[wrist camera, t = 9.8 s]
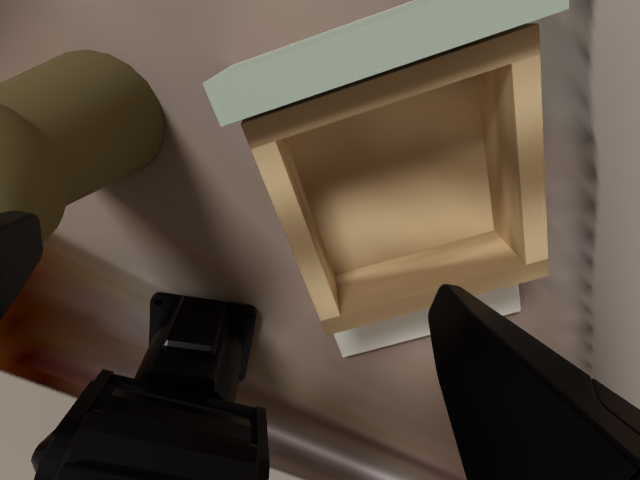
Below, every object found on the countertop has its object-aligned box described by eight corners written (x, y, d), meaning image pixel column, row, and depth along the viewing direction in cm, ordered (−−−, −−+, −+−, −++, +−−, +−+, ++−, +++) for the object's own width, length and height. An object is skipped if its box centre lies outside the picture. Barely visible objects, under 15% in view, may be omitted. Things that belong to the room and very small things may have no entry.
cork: (153, 190, 22) (35, 325, 12) (32, 153, 20) (-206, 270, 11) (174, 78, 19) (46, 136, 9) (38, 28, 18) (-271, 35, 8)
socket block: (505, 231, 23) (548, 275, 19) (322, 284, 24) (326, 335, 20) (485, 23, 18) (538, 23, 14) (253, 102, 19) (240, 124, 15)
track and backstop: (514, 303, 27) (571, 377, 21) (341, 349, 28) (352, 430, 22) (484, -25, 18) (569, -47, 12) (231, 65, 19) (202, 83, 13)
